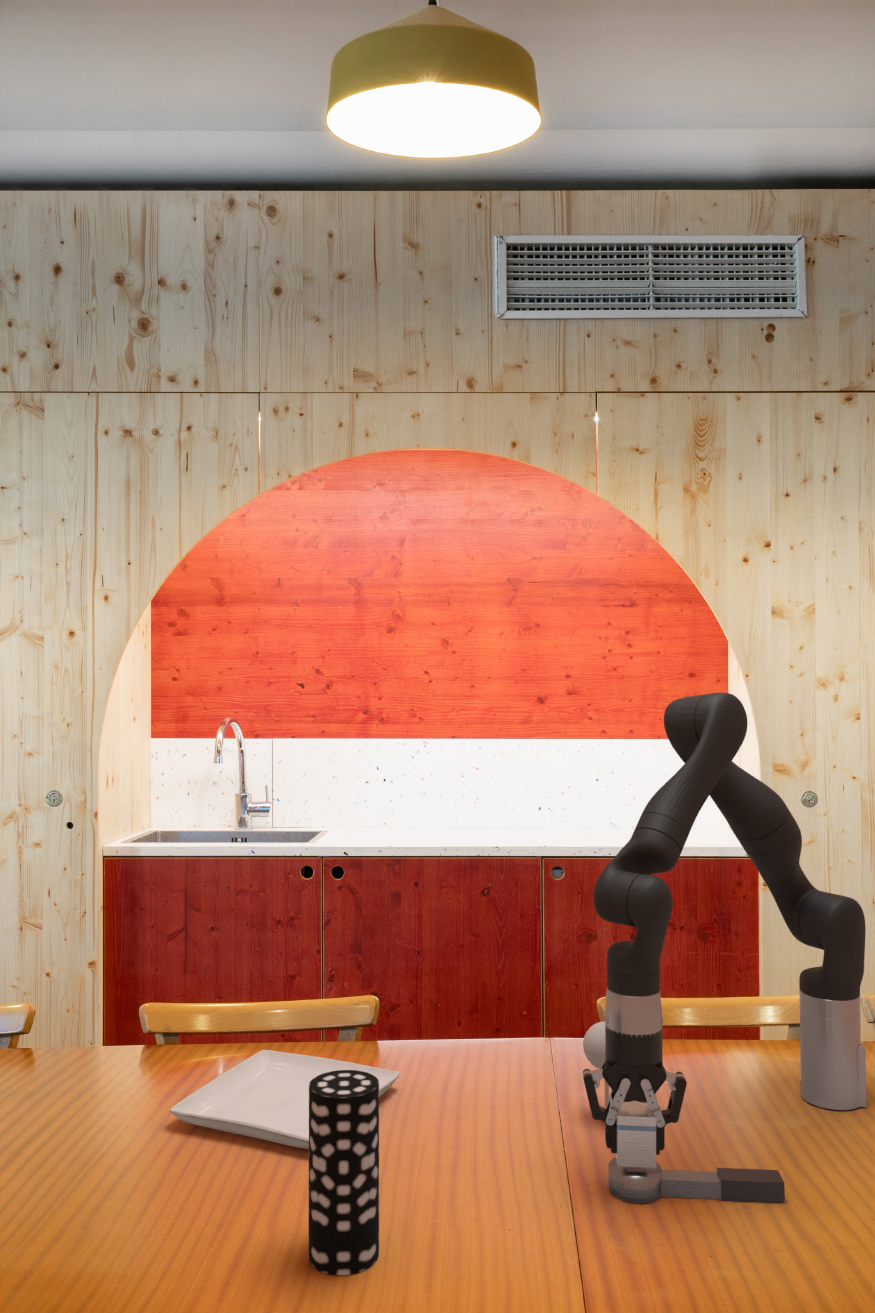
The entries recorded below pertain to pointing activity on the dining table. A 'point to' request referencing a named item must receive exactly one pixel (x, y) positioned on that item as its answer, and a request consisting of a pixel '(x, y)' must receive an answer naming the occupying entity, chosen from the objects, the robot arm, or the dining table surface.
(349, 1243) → the spotted tube
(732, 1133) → the dining table surface
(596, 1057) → the lollipop
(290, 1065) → the square plate
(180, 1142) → the dining table surface
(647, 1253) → the dining table surface
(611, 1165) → the ratchet
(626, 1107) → the silver block
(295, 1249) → the dining table surface
